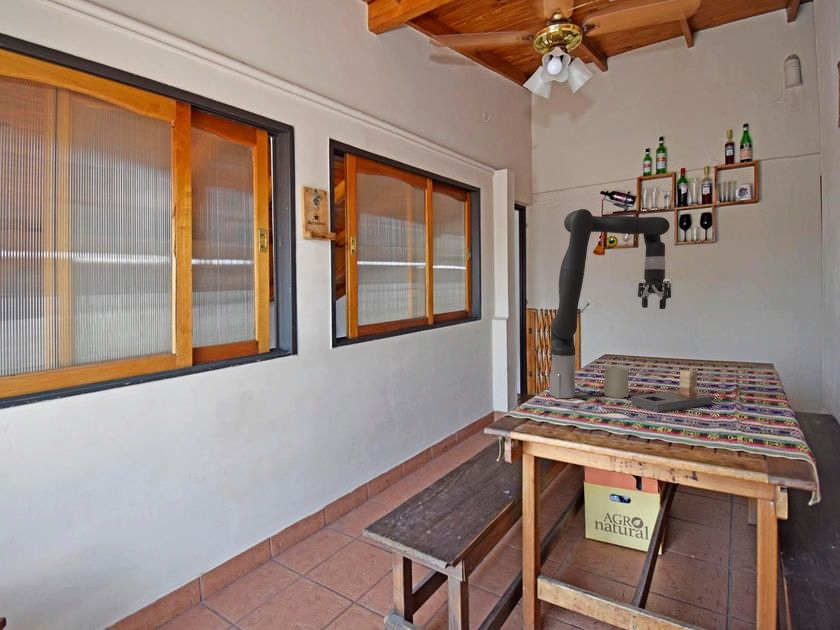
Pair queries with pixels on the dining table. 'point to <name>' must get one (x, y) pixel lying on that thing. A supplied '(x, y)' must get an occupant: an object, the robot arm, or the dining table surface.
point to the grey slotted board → (670, 401)
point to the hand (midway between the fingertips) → (653, 308)
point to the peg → (688, 382)
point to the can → (616, 381)
